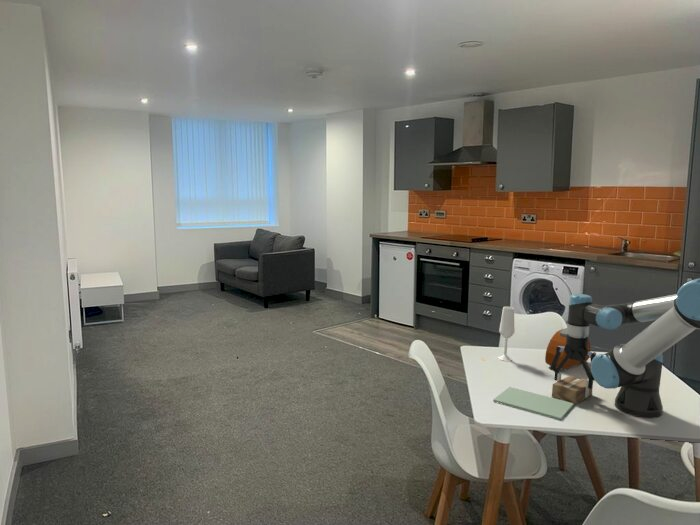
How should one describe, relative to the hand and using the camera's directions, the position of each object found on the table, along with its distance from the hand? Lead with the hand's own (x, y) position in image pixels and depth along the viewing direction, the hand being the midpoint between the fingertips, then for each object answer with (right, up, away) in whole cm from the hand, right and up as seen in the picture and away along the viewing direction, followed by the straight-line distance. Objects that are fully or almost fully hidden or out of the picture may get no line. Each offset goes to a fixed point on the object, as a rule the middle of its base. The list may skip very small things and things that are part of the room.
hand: (572, 392), depth 201 cm
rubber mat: (-17, -2, -8) cm, 19 cm away
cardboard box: (0, -1, 0) cm, 1 cm away
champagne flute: (-13, +5, +41) cm, 44 cm away
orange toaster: (+13, +3, +36) cm, 38 cm away
